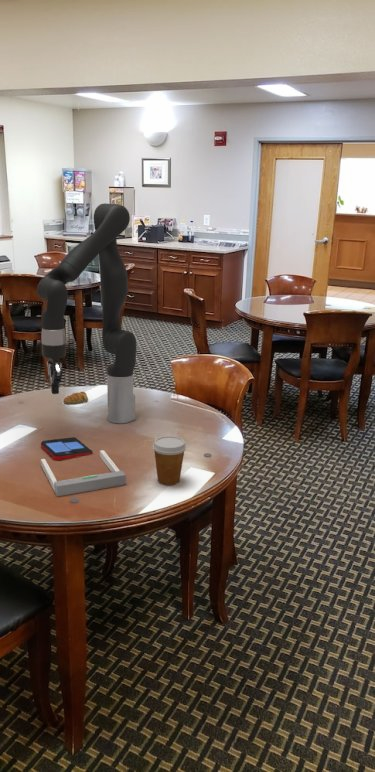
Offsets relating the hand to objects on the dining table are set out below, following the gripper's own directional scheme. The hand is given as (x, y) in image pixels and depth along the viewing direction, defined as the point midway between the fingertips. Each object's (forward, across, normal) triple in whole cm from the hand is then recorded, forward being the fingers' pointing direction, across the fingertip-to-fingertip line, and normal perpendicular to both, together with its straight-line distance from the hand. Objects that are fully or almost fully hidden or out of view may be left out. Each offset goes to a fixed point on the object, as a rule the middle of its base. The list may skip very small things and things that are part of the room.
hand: (55, 393), depth 196 cm
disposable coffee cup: (+15, -44, -22) cm, 52 cm away
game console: (+16, -12, 0) cm, 20 cm away
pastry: (+15, +32, -16) cm, 39 cm away
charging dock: (+15, -31, 0) cm, 35 cm away
